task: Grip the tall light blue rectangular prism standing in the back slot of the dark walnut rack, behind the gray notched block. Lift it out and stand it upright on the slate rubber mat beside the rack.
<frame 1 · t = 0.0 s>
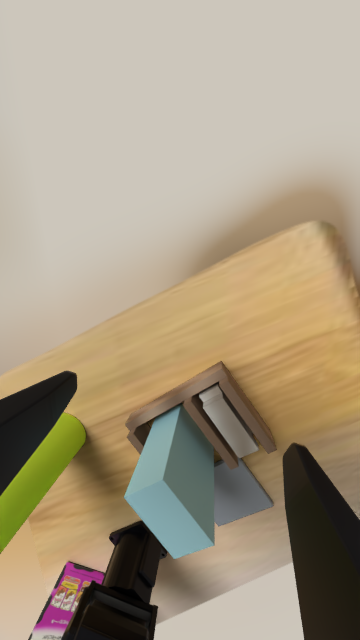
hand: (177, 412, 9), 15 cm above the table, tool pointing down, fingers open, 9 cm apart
gray notched block: (227, 408, 26), resting in walnut rack
candy bar box: (98, 578, 36), on the table
soap dispenser: (64, 432, 30), on the table
light blue rectangular prism: (184, 431, 27), resting in walnut rack
slate mat: (227, 488, 28), on the table
walnut rack: (199, 424, 26), on the table
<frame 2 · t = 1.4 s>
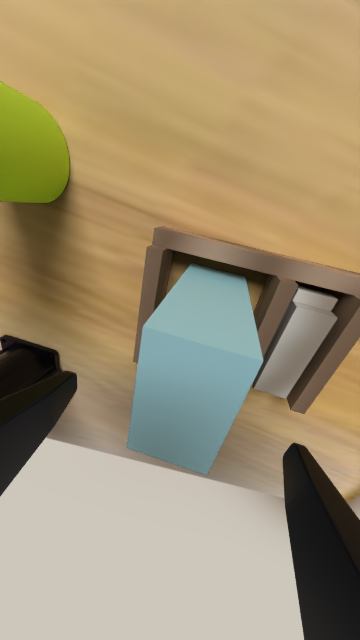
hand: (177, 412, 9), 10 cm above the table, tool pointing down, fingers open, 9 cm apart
gray notched block: (283, 331, 17), resting in walnut rack
soap dispenser: (26, 153, 15), on the table
light blue rectangular prism: (205, 311, 17), resting in walnut rack
walnut rack: (233, 319, 17), on the table
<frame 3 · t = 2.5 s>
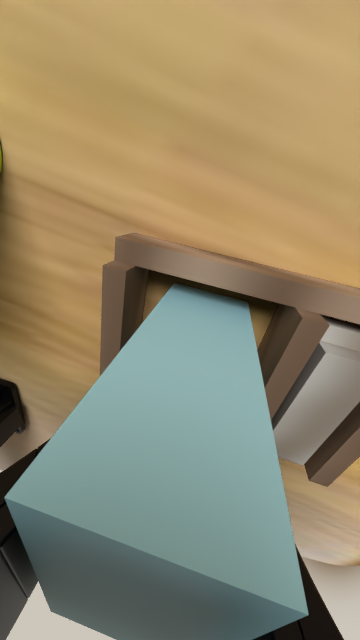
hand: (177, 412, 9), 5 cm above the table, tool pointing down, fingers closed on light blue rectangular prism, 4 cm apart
gray notched block: (298, 370, 13), resting in walnut rack
light blue rectangular prism: (195, 345, 13), resting in walnut rack, touching gripper
walnut rack: (231, 355, 13), on the table
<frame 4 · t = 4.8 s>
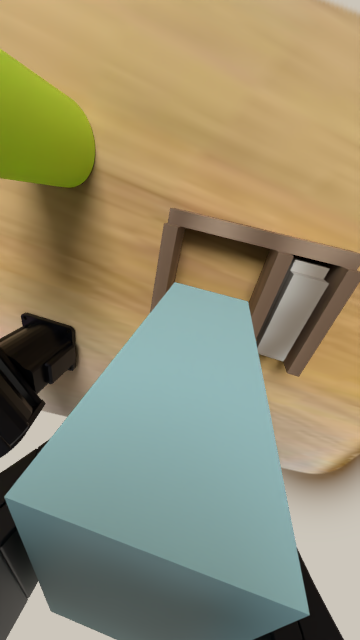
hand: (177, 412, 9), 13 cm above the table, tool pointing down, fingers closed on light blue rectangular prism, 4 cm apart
gray notched block: (282, 302, 19), resting in walnut rack
soap dispenser: (56, 143, 17), on the table
light blue rectangular prism: (195, 344, 13), point 8 cm above the table, touching gripper
walnut rack: (236, 294, 19), on the table
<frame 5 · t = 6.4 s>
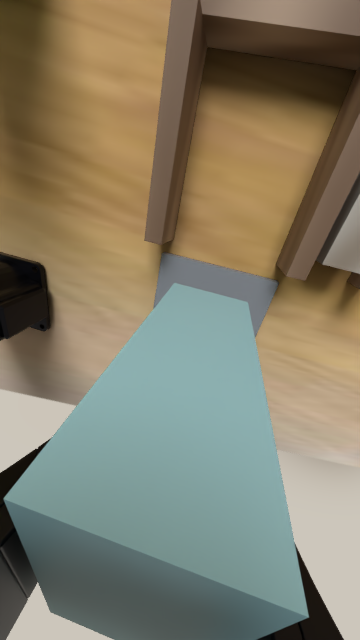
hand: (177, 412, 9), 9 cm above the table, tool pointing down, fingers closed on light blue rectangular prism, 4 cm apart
light blue rectangular prism: (195, 345, 13), point 4 cm above the table, touching gripper
slate mat: (204, 316, 17), on the table
walnut rack: (286, 179, 12), on the table
when the fingers open (7 cm above the table, at t = 7.2 s): light blue rectangular prism drops 1 cm, resting on slate mat.
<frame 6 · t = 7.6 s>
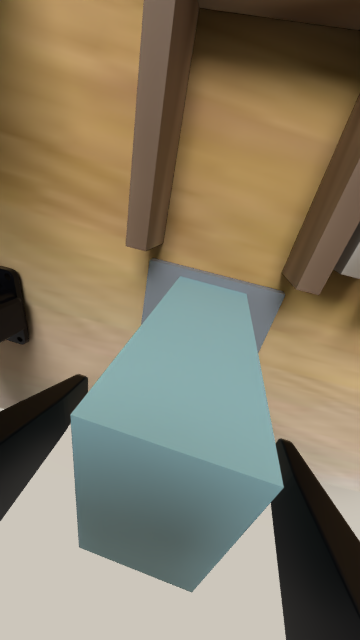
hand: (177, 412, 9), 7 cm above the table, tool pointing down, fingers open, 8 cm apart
light blue rectangular prism: (198, 334, 14), point 1 cm above the table, touching slate mat
slate mat: (200, 330, 15), on the table
walnut rack: (295, 173, 10), on the table
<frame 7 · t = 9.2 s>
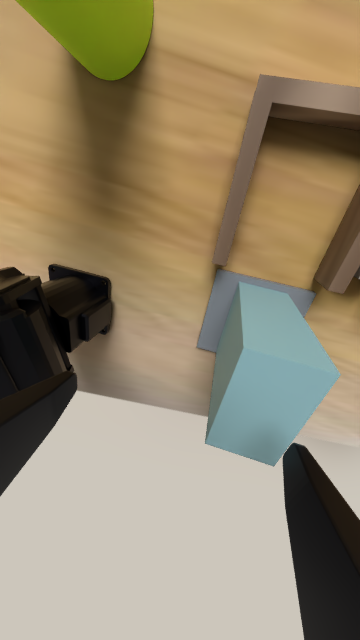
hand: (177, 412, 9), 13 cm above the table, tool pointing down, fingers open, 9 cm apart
soap dispenser: (101, 15, 13), on the table
light blue rectangular prism: (248, 323, 19), point 1 cm above the table, touching slate mat
slate mat: (248, 320, 20), on the table
walnut rack: (325, 212, 15), on the table
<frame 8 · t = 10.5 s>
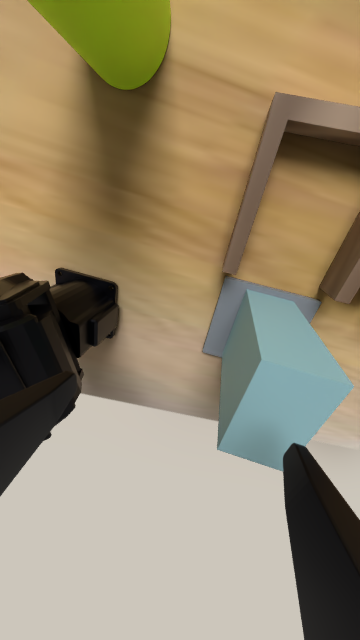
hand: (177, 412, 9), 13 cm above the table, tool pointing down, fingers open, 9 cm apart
soap dispenser: (118, 25, 14), on the table
light blue rectangular prism: (254, 329, 20), point 1 cm above the table, touching slate mat
slate mat: (254, 327, 20), on the table
walnut rack: (332, 225, 16), on the table
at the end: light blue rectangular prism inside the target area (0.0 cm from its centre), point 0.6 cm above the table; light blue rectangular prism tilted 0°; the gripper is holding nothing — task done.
